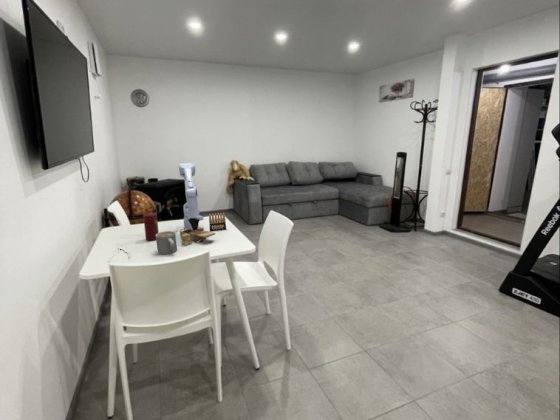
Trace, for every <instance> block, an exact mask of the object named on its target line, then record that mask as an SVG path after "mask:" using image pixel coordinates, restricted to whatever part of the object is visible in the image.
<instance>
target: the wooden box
mask: <svg viewBox="0 0 560 420" xmlns="http://www.w3.org/2000/svg"><path fill="white" fill-rule="evenodd" d="M192 231H193V229H187V230H184V229H183V230H182V231H180V232H179V233H180V235H179V236H180V237H181V235H183V234H185V233H186V234H189V232H192ZM206 239H207V238H203V237H199V236H195V235H191V234H190V242H193V243H198V242H200V241H203V240H206Z"/></svg>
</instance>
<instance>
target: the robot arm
mask: <svg viewBox="0 0 560 420" xmlns="http://www.w3.org/2000/svg"><path fill="white" fill-rule="evenodd" d="M178 171H179V176H180V177H181V178H183V179H184V187H185V198H186V203H184V204H183V206H182V207H183V215H184V217H183V227H184V228H183V231H184V230H187V229H193V231H194V230H197V229H199V228H201V227H200V225H199V223H200V221H204V216H202V215H200V213H201V212H200V206H199V203H198V197H199V195H198V189H197V187H196V182H195V180H194V179H193V177H194V176H195V175H196V164H195V162H182V163H181V162H179V163H178Z"/></svg>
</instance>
